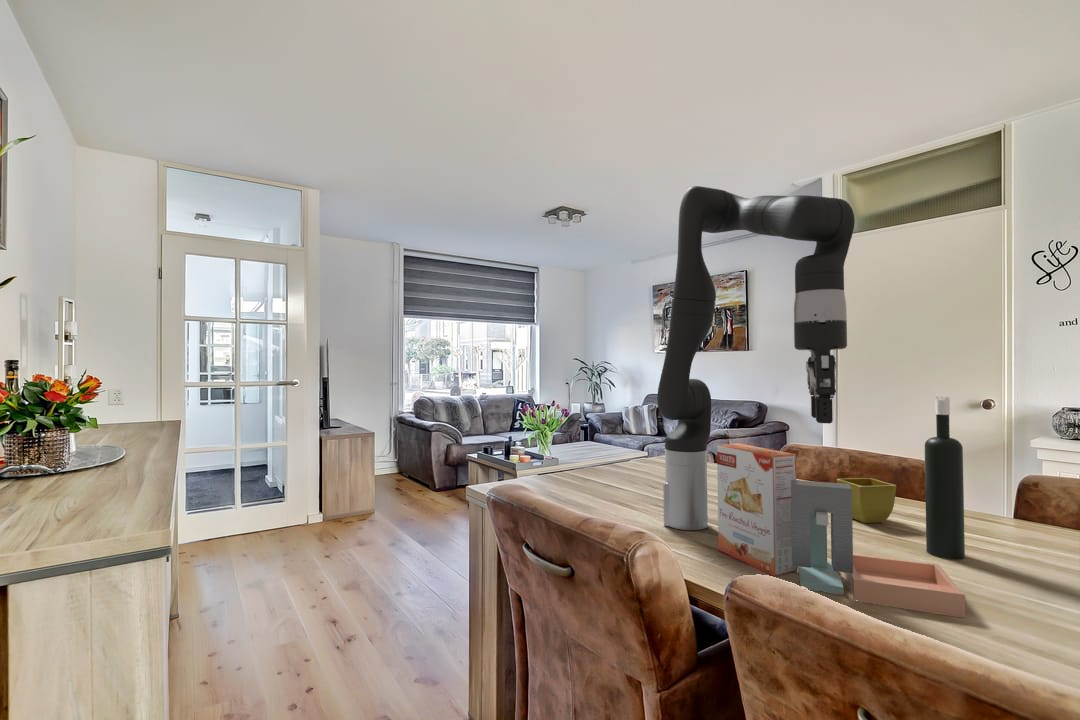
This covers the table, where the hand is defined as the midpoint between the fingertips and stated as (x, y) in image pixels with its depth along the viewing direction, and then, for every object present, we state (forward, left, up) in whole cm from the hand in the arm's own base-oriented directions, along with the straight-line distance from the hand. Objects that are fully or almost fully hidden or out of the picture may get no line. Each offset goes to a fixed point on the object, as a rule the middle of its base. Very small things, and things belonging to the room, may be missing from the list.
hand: (821, 420), depth 84 cm
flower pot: (+13, +47, -27) cm, 56 cm away
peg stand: (0, +3, -27) cm, 27 cm away
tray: (+11, +4, -27) cm, 29 cm away
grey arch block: (0, 0, -23) cm, 23 cm away
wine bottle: (+23, +27, -27) cm, 45 cm away
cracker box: (-10, +9, -27) cm, 31 cm away
